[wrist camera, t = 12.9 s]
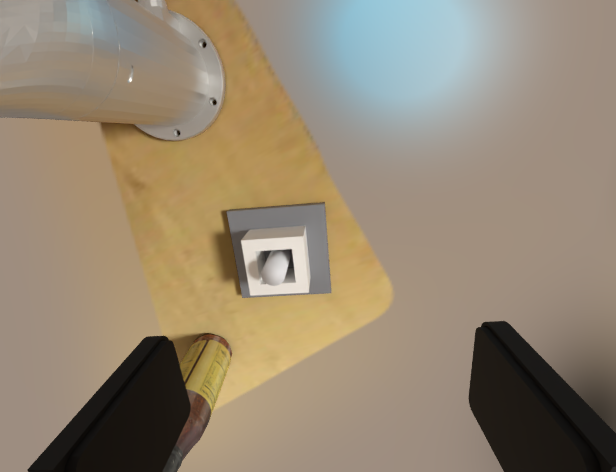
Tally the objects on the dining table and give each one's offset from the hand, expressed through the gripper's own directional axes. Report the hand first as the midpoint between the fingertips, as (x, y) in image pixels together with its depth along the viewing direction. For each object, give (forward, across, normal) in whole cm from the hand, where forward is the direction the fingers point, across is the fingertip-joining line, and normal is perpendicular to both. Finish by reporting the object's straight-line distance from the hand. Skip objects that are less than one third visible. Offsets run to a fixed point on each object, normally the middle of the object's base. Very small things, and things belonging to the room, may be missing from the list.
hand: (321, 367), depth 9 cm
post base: (+28, +6, +7) cm, 30 cm away
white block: (+27, +6, +7) cm, 29 cm away
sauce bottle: (+28, +18, +22) cm, 40 cm away
